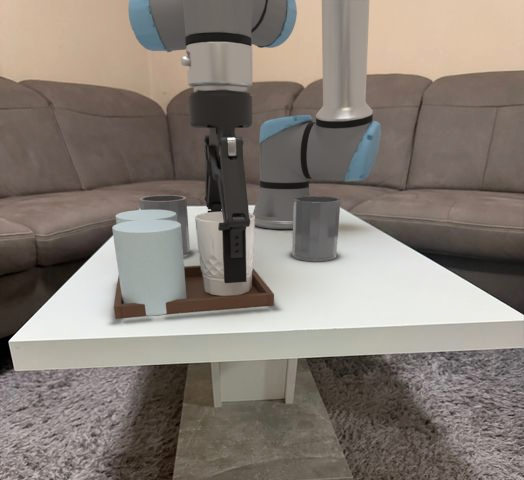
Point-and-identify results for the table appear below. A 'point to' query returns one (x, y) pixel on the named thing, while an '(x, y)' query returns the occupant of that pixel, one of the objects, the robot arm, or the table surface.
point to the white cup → (221, 255)
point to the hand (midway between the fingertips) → (226, 267)
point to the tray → (200, 297)
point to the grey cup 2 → (315, 228)
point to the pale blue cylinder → (150, 263)
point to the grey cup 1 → (170, 204)
